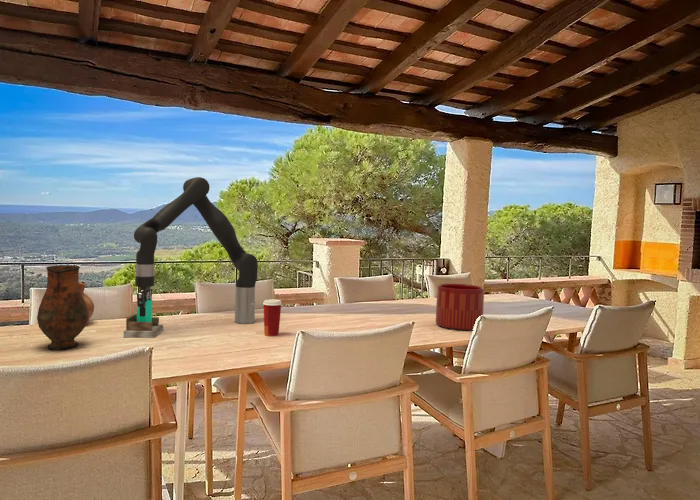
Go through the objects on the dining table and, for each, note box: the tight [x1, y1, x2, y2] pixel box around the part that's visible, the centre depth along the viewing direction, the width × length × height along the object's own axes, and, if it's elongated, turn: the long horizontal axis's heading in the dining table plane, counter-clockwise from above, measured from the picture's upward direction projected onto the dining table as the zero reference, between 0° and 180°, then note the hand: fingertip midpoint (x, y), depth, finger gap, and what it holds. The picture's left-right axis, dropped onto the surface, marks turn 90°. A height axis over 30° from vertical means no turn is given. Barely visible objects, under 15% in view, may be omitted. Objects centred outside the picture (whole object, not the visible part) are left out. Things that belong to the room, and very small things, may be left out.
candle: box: [136, 298, 153, 322], centre depth 210 cm, size 6×6×12 cm
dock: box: [123, 313, 164, 339], centre depth 210 cm, size 12×14×8 cm
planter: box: [435, 283, 485, 331], centre depth 250 cm, size 23×23×20 cm
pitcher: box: [36, 264, 89, 351], centre depth 187 cm, size 17×21×30 cm
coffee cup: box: [262, 298, 283, 337], centre depth 217 cm, size 8×8×15 cm
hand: (144, 314), depth 210 cm, fingers closed on candle, 5 cm apart
